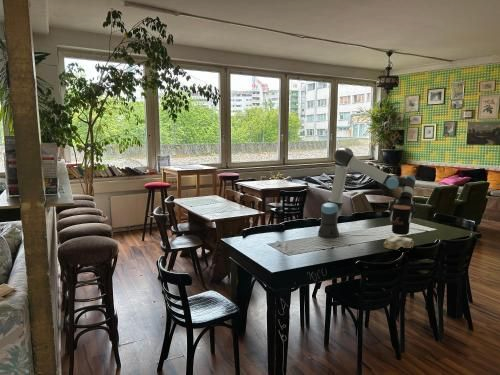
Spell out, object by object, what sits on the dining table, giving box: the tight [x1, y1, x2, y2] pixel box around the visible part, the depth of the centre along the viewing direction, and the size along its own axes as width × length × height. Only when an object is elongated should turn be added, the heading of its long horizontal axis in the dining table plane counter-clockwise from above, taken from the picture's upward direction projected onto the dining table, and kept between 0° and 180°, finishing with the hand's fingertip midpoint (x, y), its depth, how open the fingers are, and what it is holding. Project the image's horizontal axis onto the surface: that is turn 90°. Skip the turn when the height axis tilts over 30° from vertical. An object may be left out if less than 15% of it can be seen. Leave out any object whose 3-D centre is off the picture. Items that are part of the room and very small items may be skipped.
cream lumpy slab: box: [383, 235, 415, 251], centre depth 246 cm, size 16×16×5 cm
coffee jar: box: [391, 204, 412, 236], centre depth 243 cm, size 11×11×18 cm
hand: (400, 221), depth 241 cm, fingers closed on coffee jar, 11 cm apart
